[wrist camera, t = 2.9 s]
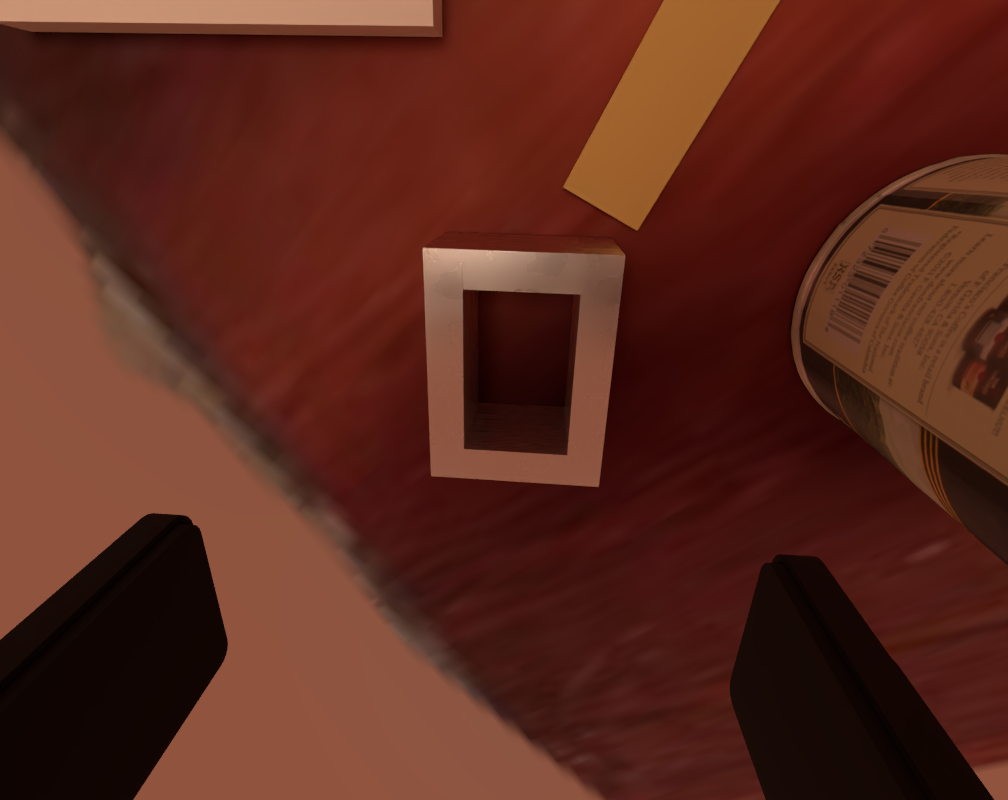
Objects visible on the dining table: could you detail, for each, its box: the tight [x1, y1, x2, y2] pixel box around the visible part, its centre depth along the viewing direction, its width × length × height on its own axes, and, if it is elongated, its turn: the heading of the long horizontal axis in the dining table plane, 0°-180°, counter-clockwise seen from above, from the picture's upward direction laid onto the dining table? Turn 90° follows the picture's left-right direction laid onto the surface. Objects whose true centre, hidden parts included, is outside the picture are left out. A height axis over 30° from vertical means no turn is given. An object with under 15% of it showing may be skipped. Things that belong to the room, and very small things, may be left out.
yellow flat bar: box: [563, 0, 780, 231], centre depth 17 cm, size 9×3×1 cm, turn 152°
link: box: [423, 232, 626, 487], centre depth 19 cm, size 6×8×4 cm
